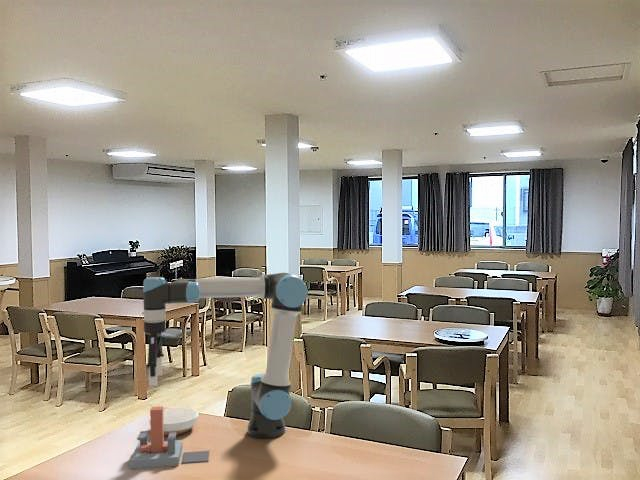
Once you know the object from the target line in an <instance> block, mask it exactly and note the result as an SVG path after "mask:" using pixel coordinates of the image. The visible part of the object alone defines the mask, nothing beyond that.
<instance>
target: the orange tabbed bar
mask: <svg viewBox="0 0 640 480" xmlns="http://www.w3.org/2000/svg"><path fill="white" fill-rule="evenodd" d="M163 410H164V405H161V406H158V405H157V406H152V407H151V408H150V410H149V415H150V416H149V417H150V423H149V426H150V442H151V445H141V447H140V452H143V451H151V454H154V453H164V450H168V444H164V441H165V437H164V436H165V435H164V421H163Z"/></svg>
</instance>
